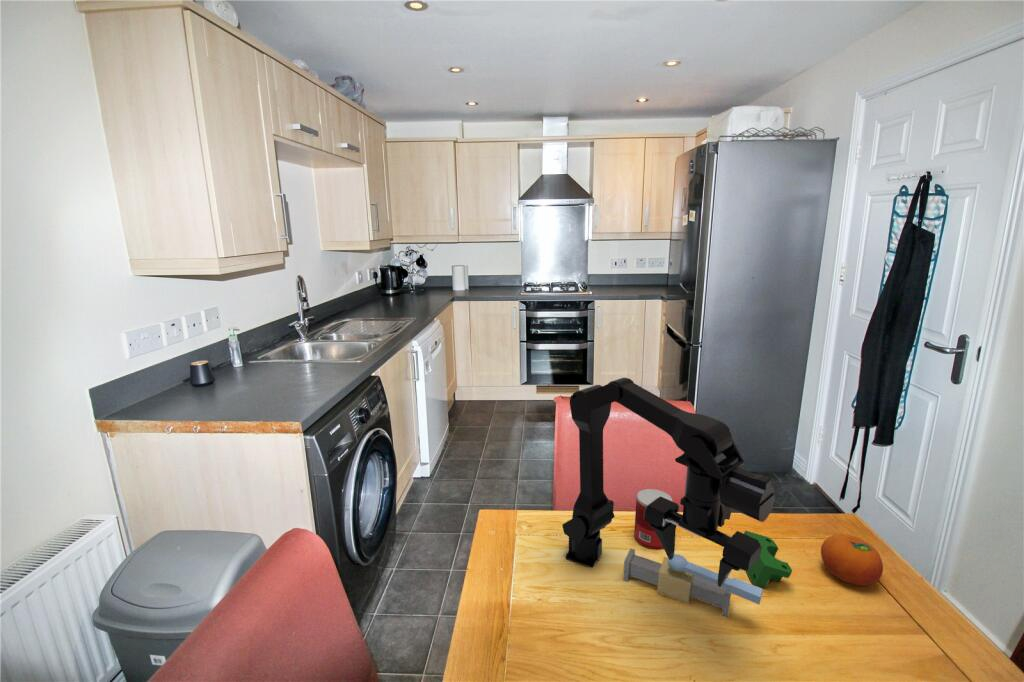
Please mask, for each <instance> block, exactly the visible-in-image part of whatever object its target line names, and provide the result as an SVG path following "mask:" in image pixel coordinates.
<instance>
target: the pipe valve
mask: <svg viewBox="0 0 1024 682" xmlns="http://www.w3.org/2000/svg"><path fill="white" fill-rule="evenodd" d="M623 563H624V564H623V578H622V579H623V581H625V582H627V583H628V582H629V581H630V578H631V577H633V578H636V579H638V580H642V581H644V582H646V583H650V584H652V585H655V586H657V588H656V589H657V590H656V591H657V595H658V594H659V595H661V596H664V597H667V598H670V599H672V600H675V601H678V602H680V603H683V604H686V605H689V604H690V600H691V598H693V599H695V600H698V601H701V602H704V603H707V604H709V605H712V606H715V607H716V608H717V607H718V608H720V609H722V612H721V613H722V614H721V616H722V617H724V618H729V613H730V612H729V611H730V604H731V597H732V593H730V590H728V589H726V588H723V587H719V586H718V585H716V584H714V583H711V582H709V581H706V580H704V579H701V578H699V577H697V576H694V575H692V574H689V573H687V572H677V571H674V570H672V569H671V568H670V567H669V566H668V557H665V556H664V557H663V560H662V562H659V561H655V560H653V559H649V558H646V557H643V556H639V555H636V549H633V548H630V549H629V550H628V553H627V554H626V557H625V558H624V562H623Z"/></svg>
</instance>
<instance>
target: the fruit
mask: <svg viewBox="0 0 1024 682" xmlns="http://www.w3.org/2000/svg"><path fill="white" fill-rule="evenodd" d="M820 557H821V559H822V562H823V564H824V566H825V568H826V569H827V570H828V571H829V573H831V574H832V575H833V576H835V577H836V578H838V579H839V580H841V581H843V582H844V583H845V582H846V583H849V584H852V585H858V586H868V585H871V584H874V583H876V582H878V581H879V580H880V578H882V576H883V572H884V571H883V570H884V565H883V561H882V557H881V555H880V553H879V552H878V550H877V549H876V548H875V547H874V546H872V544H870V543H869V542H867V541H866V540H864V539H863V538H861V537H857V536H854V535H852V534H846V533H835V534H832V535H830V536H828V537H827V538H826V539H824V541H823V543H821V546H820Z"/></svg>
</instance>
